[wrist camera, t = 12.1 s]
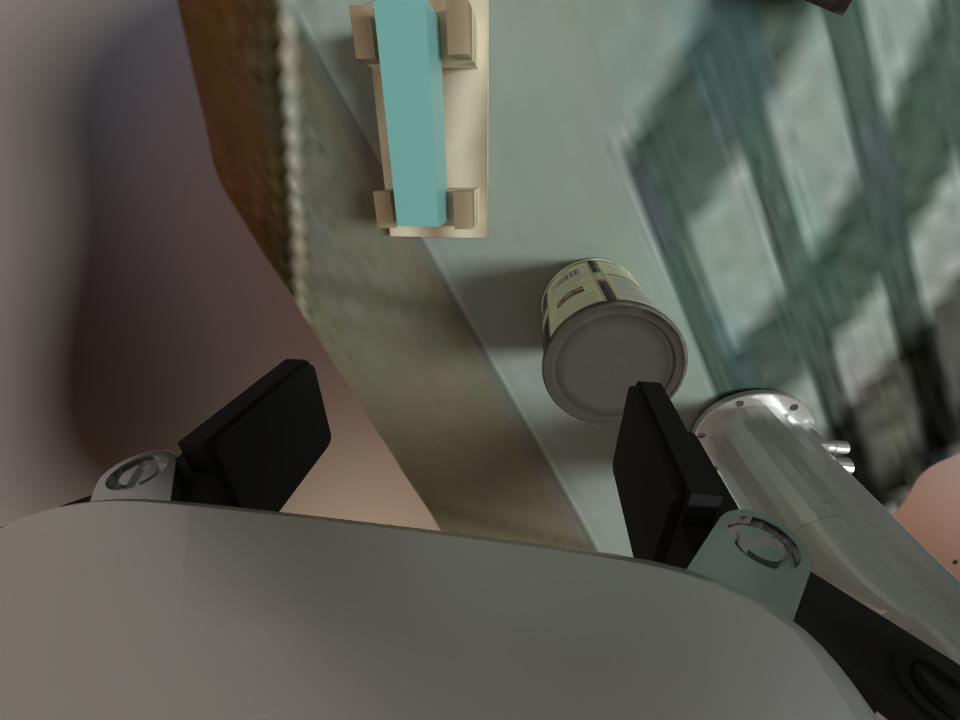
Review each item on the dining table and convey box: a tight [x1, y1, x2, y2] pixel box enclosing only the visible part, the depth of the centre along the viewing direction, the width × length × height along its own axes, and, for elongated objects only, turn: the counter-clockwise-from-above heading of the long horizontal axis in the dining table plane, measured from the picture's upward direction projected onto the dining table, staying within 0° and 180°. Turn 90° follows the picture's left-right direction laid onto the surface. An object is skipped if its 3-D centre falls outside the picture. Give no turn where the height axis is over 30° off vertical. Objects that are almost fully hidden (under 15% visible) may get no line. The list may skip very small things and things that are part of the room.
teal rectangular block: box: [373, 0, 449, 227], centre depth 29 cm, size 4×14×4 cm, turn 1°
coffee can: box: [541, 258, 688, 425], centre depth 34 cm, size 10×10×14 cm
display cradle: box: [349, 0, 489, 238], centre depth 32 cm, size 10×18×6 cm, turn 1°
